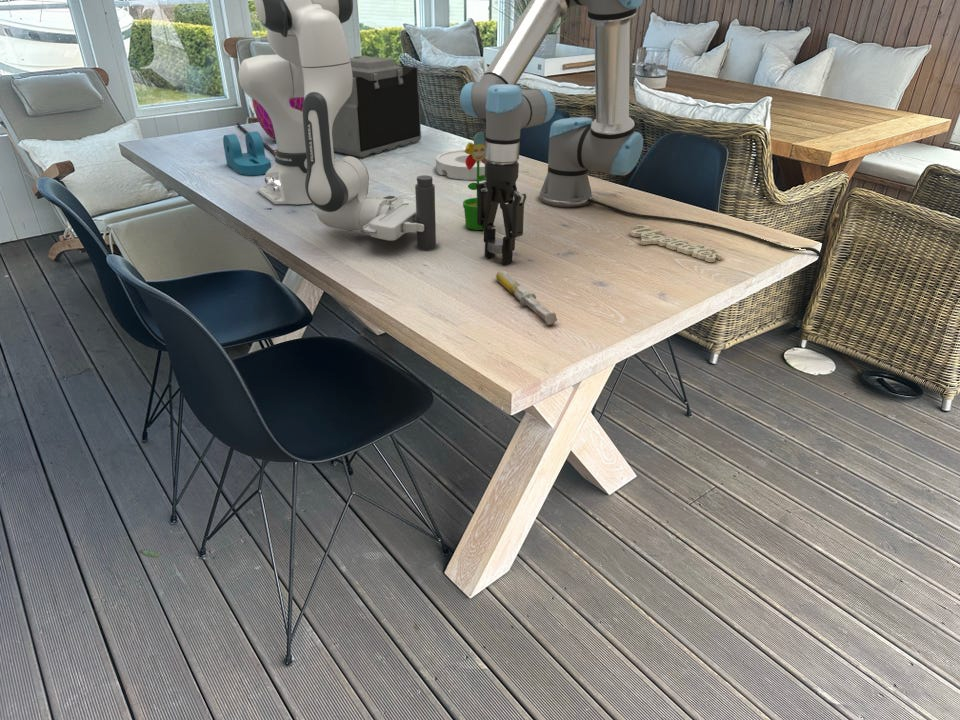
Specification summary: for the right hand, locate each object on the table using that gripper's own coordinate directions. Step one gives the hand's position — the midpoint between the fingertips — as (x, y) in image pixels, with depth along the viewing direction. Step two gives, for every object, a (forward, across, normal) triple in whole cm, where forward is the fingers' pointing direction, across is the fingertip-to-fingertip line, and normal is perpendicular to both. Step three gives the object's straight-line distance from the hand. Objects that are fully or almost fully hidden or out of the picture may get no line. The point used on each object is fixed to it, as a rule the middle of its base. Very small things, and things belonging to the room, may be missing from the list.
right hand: (498, 259), depth 163 cm
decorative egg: (0, +141, -26) cm, 143 cm away
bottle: (0, +18, +7) cm, 19 cm away
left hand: (-6, +18, +6) cm, 19 cm away
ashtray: (0, +61, -50) cm, 79 cm away
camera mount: (+1, +112, +3) cm, 112 cm away
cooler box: (0, +111, -46) cm, 120 cm away
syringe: (0, -19, +12) cm, 23 cm away
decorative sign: (0, -23, -38) cm, 45 cm away
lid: (-4, 0, 0) cm, 4 cm away
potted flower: (0, +20, -13) cm, 23 cm away
